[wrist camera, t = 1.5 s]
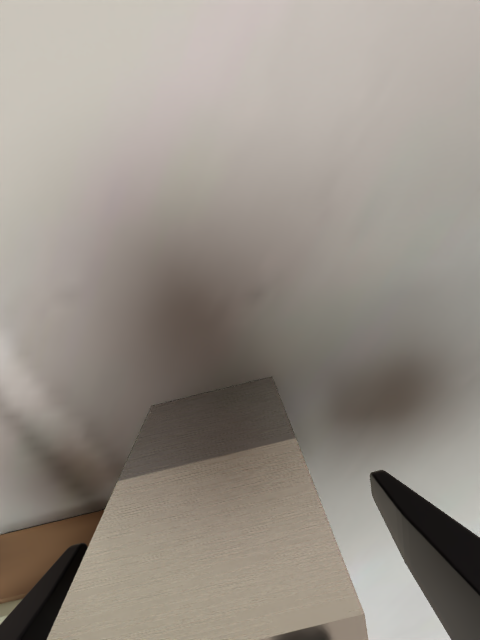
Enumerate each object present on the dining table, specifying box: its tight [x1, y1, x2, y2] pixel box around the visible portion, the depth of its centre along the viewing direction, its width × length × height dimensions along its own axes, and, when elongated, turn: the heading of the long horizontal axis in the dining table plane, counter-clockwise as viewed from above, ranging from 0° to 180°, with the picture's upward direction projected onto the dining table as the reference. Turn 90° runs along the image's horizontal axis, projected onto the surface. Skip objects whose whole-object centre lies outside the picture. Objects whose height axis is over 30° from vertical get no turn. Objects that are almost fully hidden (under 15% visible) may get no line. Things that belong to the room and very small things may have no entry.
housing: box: [47, 377, 368, 640], centre depth 8 cm, size 5×5×7 cm
